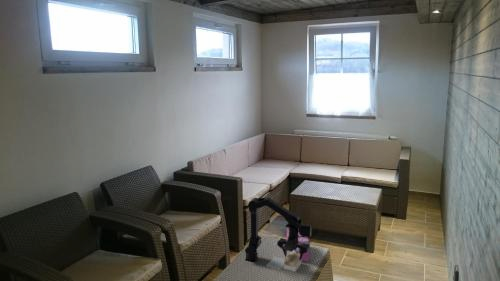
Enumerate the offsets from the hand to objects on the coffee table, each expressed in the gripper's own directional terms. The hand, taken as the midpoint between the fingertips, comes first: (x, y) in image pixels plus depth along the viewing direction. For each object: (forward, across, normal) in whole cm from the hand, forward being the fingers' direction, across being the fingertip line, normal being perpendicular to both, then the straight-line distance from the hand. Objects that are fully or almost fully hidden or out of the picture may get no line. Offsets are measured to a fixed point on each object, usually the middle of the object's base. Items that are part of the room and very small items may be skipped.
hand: (292, 258), depth 224 cm
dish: (+6, 0, 0) cm, 6 cm away
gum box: (+6, -4, +17) cm, 19 cm away
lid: (+2, 0, 0) cm, 2 cm away
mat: (+6, -10, -1) cm, 11 cm away
